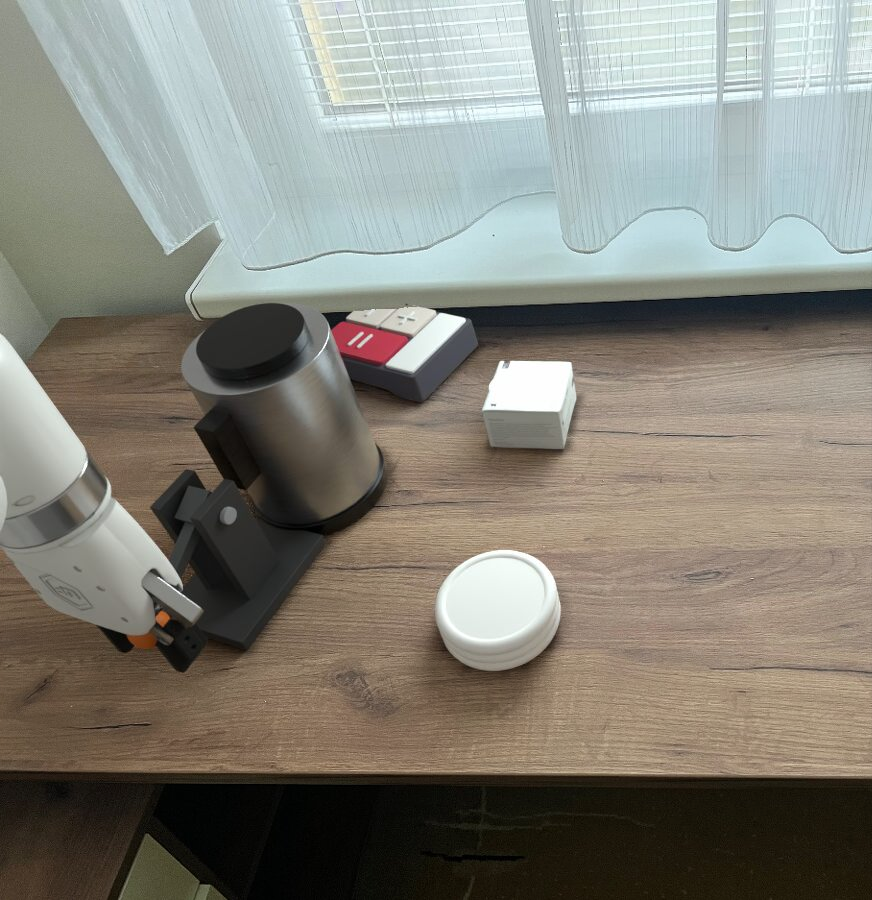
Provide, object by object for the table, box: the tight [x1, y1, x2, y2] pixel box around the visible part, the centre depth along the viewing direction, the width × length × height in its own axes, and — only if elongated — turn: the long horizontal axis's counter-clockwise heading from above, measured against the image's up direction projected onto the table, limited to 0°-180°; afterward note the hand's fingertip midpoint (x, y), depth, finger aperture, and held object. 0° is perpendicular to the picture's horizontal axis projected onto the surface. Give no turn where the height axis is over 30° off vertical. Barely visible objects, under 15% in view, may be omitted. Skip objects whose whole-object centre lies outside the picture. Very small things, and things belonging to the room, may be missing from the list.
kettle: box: [180, 302, 389, 536], centre depth 79 cm, size 15×13×19 cm
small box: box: [481, 360, 577, 450], centre depth 88 cm, size 8×8×5 cm
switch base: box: [149, 468, 327, 651], centre depth 74 cm, size 12×9×12 cm
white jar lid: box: [434, 549, 562, 672], centre depth 71 cm, size 10×10×4 cm
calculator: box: [331, 305, 479, 403], centre depth 98 cm, size 11×4×15 cm
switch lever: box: [127, 486, 213, 650], centre depth 70 cm, size 13×3×3 cm, turn 158°
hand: (163, 646), depth 70 cm, fingers open, 5 cm apart
